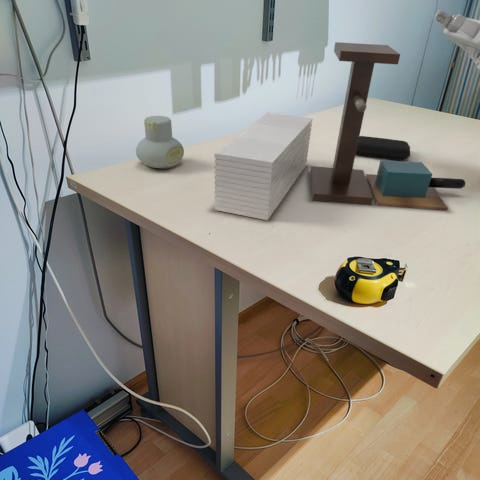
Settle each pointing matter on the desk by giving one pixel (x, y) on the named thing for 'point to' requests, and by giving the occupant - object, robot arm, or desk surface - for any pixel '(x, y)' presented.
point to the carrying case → (383, 148)
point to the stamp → (410, 179)
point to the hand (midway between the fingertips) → (445, 16)
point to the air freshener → (159, 144)
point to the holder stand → (351, 127)
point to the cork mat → (406, 198)
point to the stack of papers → (261, 165)
